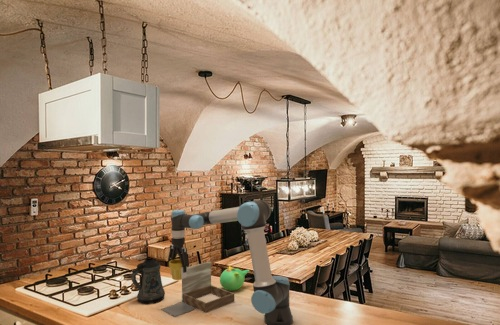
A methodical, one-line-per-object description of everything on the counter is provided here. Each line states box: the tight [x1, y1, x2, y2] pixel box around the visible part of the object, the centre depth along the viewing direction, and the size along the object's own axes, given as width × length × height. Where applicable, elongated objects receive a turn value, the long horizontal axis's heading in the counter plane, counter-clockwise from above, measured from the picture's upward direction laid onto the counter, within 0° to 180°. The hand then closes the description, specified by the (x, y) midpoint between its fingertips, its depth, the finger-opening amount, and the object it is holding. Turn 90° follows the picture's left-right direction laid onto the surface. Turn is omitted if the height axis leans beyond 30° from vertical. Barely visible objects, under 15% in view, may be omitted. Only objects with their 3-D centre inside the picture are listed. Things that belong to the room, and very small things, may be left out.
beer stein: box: [130, 257, 166, 305], centre depth 212 cm, size 16×19×25 cm
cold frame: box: [181, 261, 235, 314], centre depth 208 cm, size 23×22×20 cm
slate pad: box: [160, 301, 197, 318], centre depth 197 cm, size 14×14×1 cm
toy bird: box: [219, 266, 250, 291], centre depth 229 cm, size 18×17×15 cm
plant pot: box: [168, 258, 188, 281], centre depth 197 cm, size 10×10×10 cm
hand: (178, 276), depth 197 cm, fingers closed on plant pot, 10 cm apart
